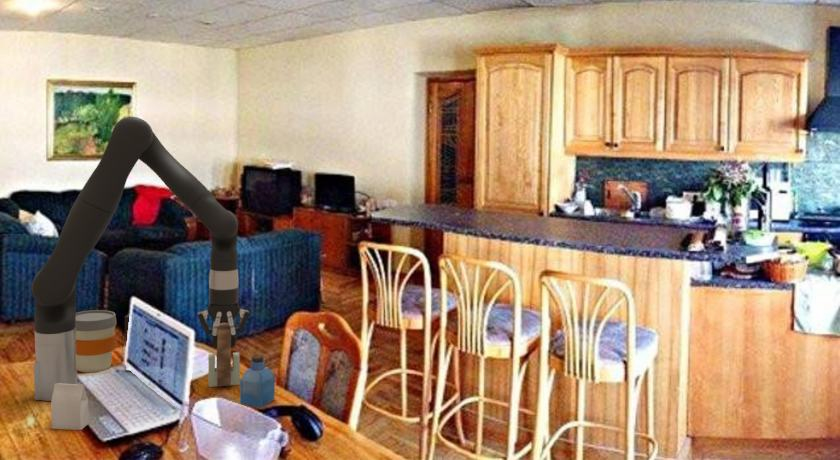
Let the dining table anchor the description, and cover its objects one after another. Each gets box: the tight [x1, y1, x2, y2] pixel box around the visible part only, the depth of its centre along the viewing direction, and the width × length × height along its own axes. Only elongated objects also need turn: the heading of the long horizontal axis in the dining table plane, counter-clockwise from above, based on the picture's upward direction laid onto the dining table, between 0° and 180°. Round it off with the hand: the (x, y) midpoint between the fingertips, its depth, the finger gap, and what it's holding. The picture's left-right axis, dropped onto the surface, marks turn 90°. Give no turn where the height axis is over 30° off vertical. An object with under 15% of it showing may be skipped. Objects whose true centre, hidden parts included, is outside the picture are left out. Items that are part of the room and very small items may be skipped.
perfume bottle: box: [239, 353, 276, 408], centre depth 184 cm, size 6×6×12 cm
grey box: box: [50, 383, 90, 431], centre depth 165 cm, size 4×7×10 cm, turn 88°
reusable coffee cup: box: [75, 309, 118, 373], centre depth 204 cm, size 13×13×15 cm
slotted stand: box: [207, 352, 241, 388], centre depth 196 cm, size 8×3×8 cm, turn 108°
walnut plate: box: [216, 323, 232, 387], centre depth 195 cm, size 3×8×15 cm, turn 18°
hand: (223, 347), depth 195 cm, fingers closed on walnut plate, 3 cm apart
